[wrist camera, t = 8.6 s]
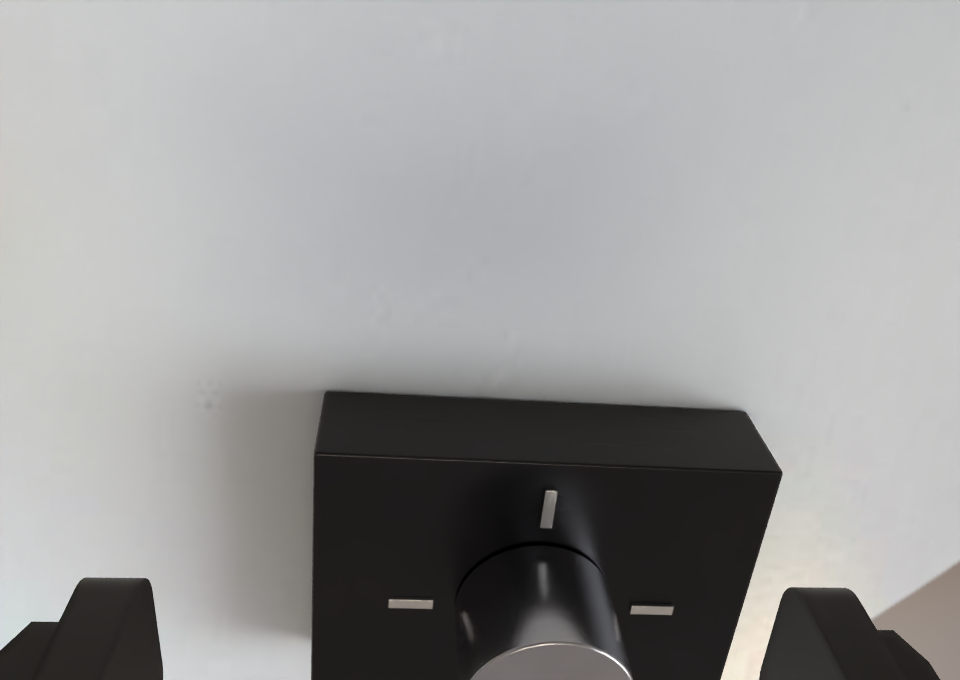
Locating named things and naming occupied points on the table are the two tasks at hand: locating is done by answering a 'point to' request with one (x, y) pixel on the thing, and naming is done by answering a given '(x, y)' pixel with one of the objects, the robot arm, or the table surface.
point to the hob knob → (538, 619)
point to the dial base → (530, 523)
